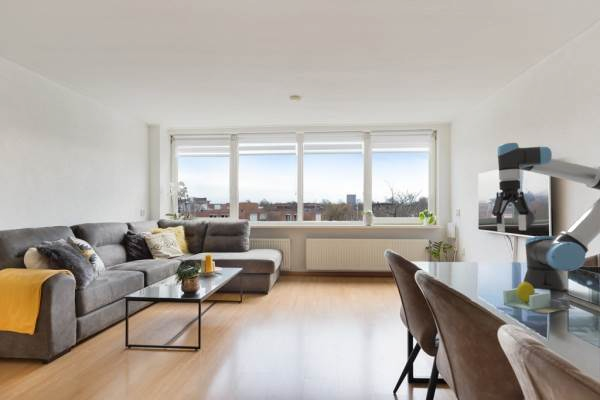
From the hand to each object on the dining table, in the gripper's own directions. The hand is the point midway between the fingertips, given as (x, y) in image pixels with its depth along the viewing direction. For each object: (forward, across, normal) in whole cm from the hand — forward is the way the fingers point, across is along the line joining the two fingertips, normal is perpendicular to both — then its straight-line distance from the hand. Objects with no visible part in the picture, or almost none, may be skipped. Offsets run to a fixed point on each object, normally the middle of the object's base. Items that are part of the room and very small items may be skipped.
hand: (512, 231), depth 148 cm
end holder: (+26, +15, +14) cm, 33 cm away
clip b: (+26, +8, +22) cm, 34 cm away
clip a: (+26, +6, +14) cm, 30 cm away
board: (+27, +12, +17) cm, 34 cm away
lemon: (+25, +15, +14) cm, 32 cm away
